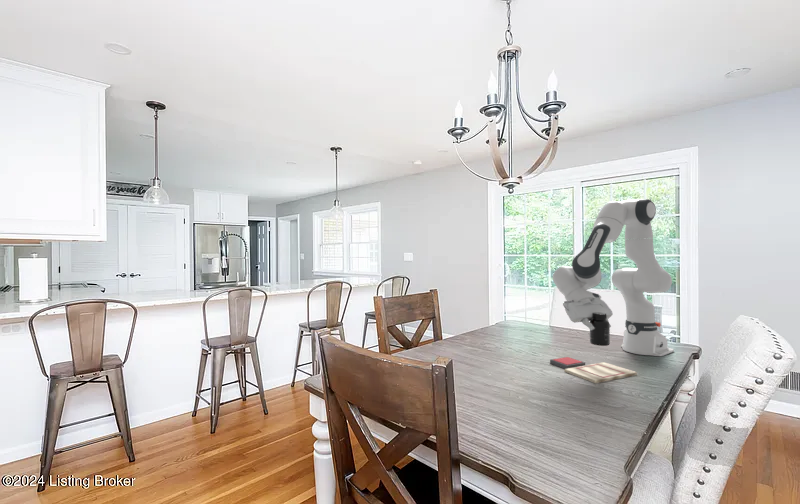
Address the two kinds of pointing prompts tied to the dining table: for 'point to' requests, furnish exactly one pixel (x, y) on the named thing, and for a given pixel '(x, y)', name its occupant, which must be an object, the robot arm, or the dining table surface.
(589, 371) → the marked board
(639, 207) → the robot arm
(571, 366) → the ink pad
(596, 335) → the supplement bottle
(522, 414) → the dining table surface
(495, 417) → the dining table surface
